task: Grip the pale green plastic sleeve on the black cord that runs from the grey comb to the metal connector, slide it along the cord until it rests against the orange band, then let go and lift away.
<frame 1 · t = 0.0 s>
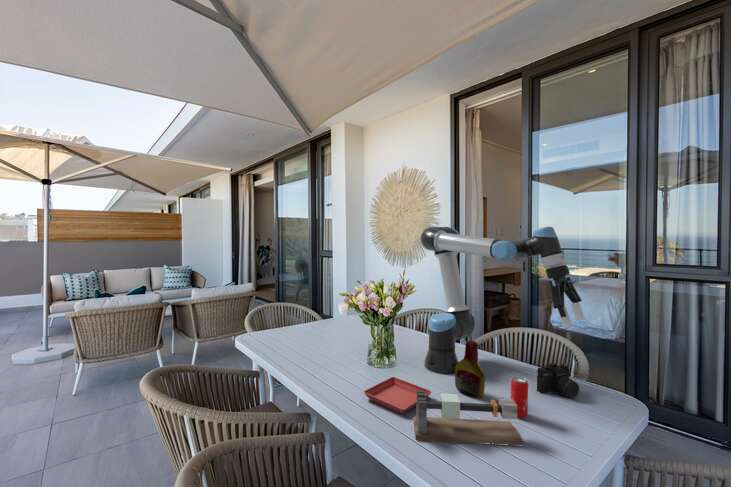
hand: (574, 322, 123), 28 cm above the table, tool tilted 20°, fingers open, 13 cm apart
plant saucer: (397, 400, 122), on the table
bottle: (469, 394, 127), on the table
sleeve: (449, 405, 102), point 8 cm above the table, slide at 0.0 cm
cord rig: (464, 432, 102), on the table
camera: (558, 394, 128), on the table
beverage can: (518, 416, 112), on the table
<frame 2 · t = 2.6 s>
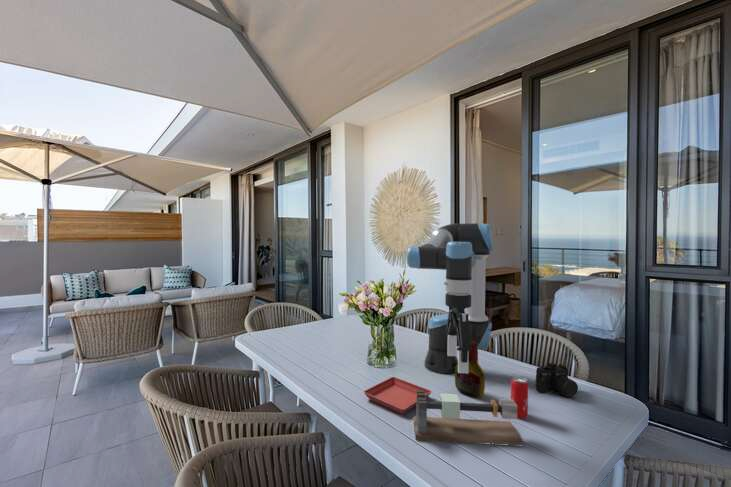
hand: (457, 363, 101), 21 cm above the table, tool pointing down, fingers open, 13 cm apart
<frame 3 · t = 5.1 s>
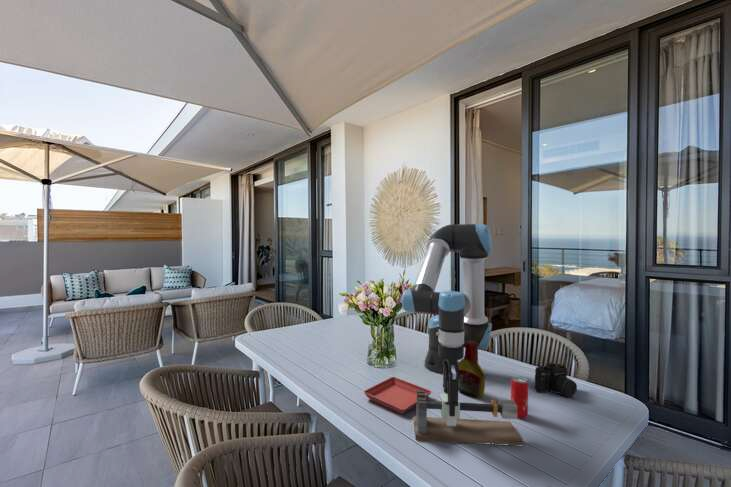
hand: (449, 419, 102), 4 cm above the table, tool pointing down, fingers closed on sleeve, 5 cm apart
sleeve: (449, 405, 102), point 8 cm above the table, slide at 0.0 cm, touching gripper
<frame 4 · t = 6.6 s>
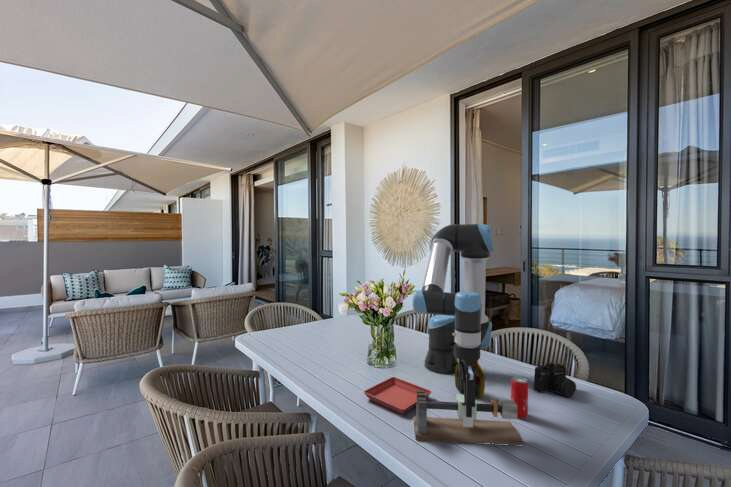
hand: (465, 420, 101), 4 cm above the table, tool pointing down, fingers closed on sleeve, 5 cm apart
sleeve: (466, 406, 101), point 8 cm above the table, slide at 4.8 cm, touching gripper
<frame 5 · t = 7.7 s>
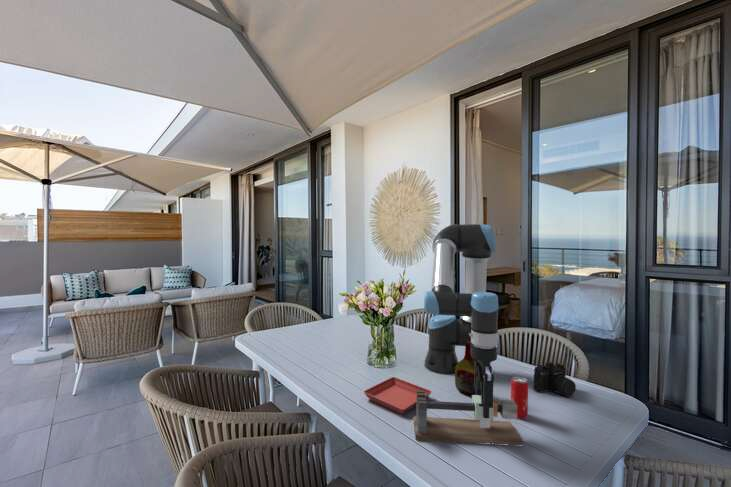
hand: (482, 421, 101), 4 cm above the table, tool pointing down, fingers closed on sleeve, 5 cm apart
sleeve: (482, 407, 101), point 8 cm above the table, slide at 9.6 cm, touching gripper
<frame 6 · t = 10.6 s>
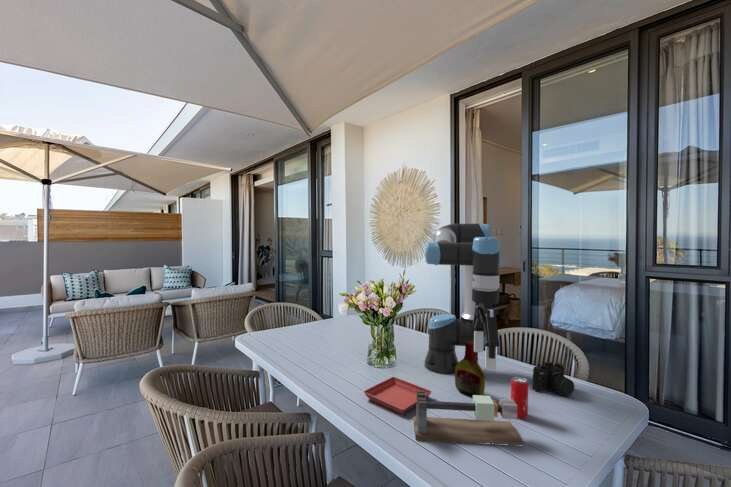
hand: (484, 359, 101), 22 cm above the table, tool pointing down, fingers open, 13 cm apart
sleeve: (483, 407, 101), point 8 cm above the table, slide at 9.8 cm
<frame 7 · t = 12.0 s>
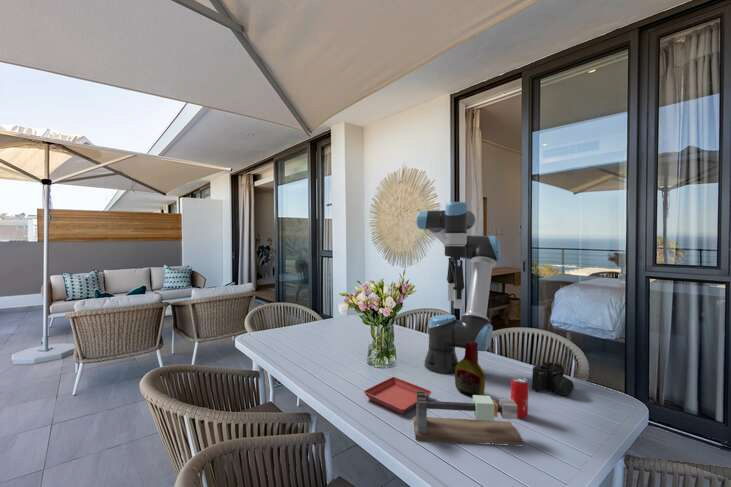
hand: (454, 304, 122), 35 cm above the table, tool pointing down, fingers open, 13 cm apart
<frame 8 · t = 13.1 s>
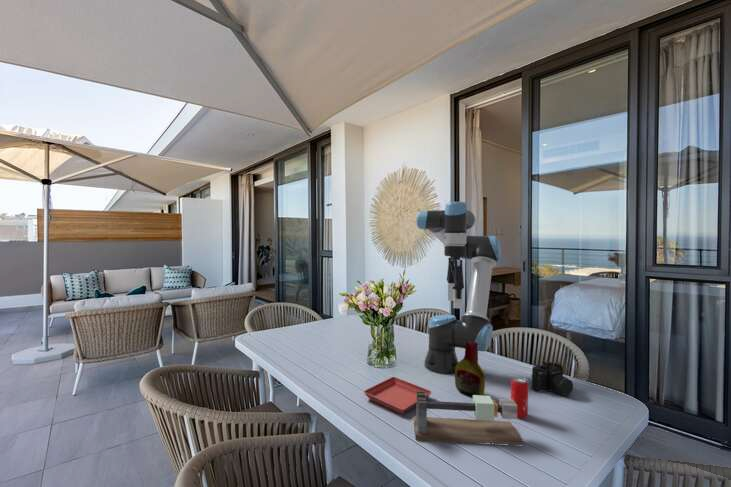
hand: (454, 304, 122), 35 cm above the table, tool pointing down, fingers open, 13 cm apart
at the end: sleeve slide at 9.8 cm; the gripper is holding nothing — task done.
